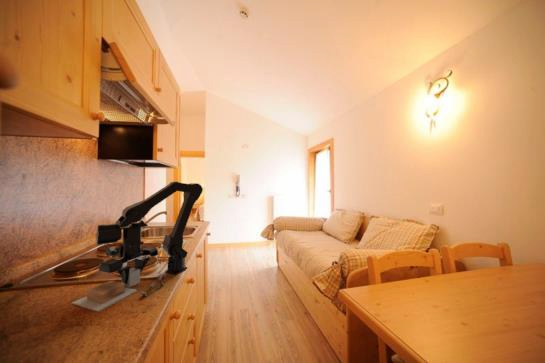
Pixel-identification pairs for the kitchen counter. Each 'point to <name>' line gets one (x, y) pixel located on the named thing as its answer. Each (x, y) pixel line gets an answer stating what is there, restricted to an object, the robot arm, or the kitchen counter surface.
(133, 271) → the grey block
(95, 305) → the build mat
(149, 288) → the wooden post with brackets
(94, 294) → the plinth
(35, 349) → the kitchen counter surface
